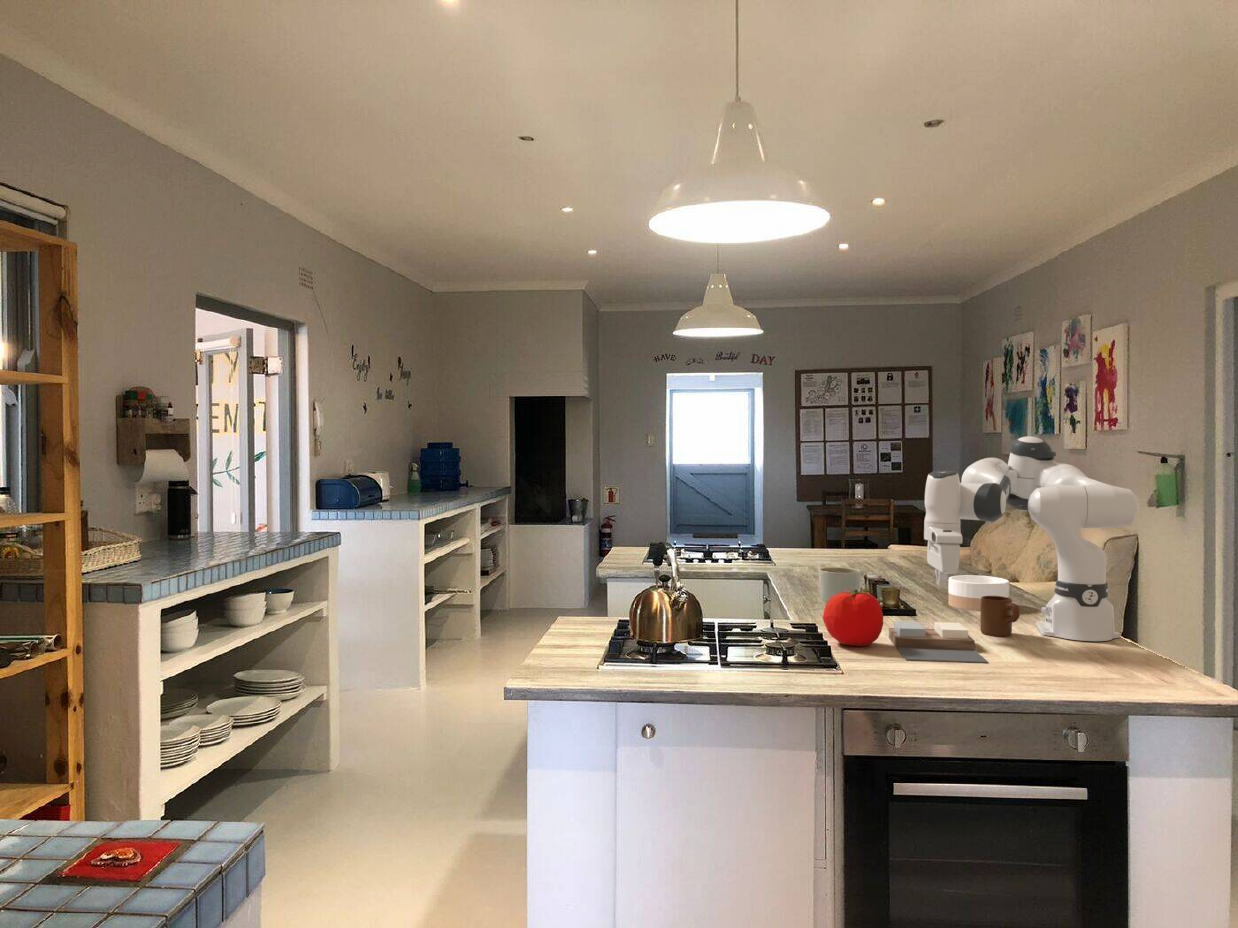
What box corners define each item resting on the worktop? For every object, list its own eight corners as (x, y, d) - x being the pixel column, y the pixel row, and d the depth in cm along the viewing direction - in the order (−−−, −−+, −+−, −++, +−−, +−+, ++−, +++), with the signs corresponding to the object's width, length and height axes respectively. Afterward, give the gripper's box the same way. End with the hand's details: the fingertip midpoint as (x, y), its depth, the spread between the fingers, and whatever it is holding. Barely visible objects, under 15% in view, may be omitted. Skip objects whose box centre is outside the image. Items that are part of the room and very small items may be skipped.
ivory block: (934, 630, 225) (934, 622, 225) (959, 630, 224) (959, 622, 224) (942, 637, 216) (942, 629, 216) (968, 638, 216) (968, 630, 215)
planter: (865, 608, 267) (865, 572, 267) (824, 609, 267) (824, 572, 267) (853, 601, 280) (854, 567, 279) (814, 601, 279) (814, 567, 279)
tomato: (895, 647, 217) (895, 591, 217) (854, 654, 210) (855, 596, 210) (847, 635, 231) (847, 582, 230) (808, 641, 223) (808, 587, 223)
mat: (896, 648, 216) (896, 647, 216) (974, 650, 213) (974, 649, 213) (906, 660, 204) (906, 658, 204) (988, 663, 202) (988, 661, 202)
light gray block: (893, 628, 227) (893, 621, 227) (918, 629, 226) (918, 621, 226) (899, 636, 218) (899, 628, 218) (925, 637, 217) (925, 629, 217)
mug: (1030, 639, 226) (1031, 602, 226) (1005, 641, 224) (1006, 604, 224) (998, 630, 238) (998, 594, 237) (974, 631, 235) (974, 596, 235)
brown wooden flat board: (888, 637, 228) (888, 627, 228) (962, 639, 225) (962, 630, 225) (896, 648, 216) (897, 638, 216) (974, 650, 213) (974, 640, 213)
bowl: (969, 612, 263) (969, 584, 262) (937, 602, 279) (937, 575, 279) (1021, 610, 266) (1021, 582, 266) (986, 600, 283) (986, 574, 283)
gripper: (921, 529, 241) (920, 580, 241) (937, 537, 221) (937, 592, 221) (945, 529, 240) (945, 580, 241) (964, 537, 220) (963, 593, 220)
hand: (941, 586), depth 231 cm, fingers closed
